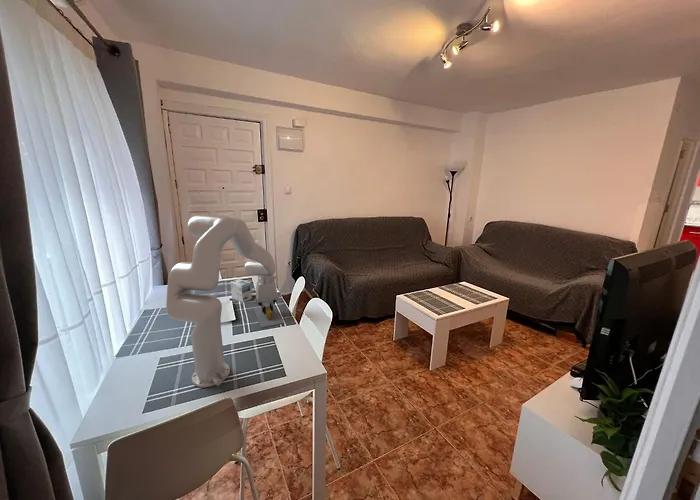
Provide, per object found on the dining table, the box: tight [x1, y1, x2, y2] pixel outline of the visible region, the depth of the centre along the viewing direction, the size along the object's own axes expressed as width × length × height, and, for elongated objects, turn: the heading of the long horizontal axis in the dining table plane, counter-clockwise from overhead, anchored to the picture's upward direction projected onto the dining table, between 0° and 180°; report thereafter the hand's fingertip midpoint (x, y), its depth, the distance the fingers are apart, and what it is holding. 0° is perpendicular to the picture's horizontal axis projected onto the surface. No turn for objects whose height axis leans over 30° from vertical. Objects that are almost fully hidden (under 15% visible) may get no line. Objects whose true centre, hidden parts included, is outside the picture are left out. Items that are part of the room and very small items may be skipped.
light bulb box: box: [230, 278, 253, 303], centre depth 166 cm, size 11×7×11 cm, turn 58°
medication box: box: [264, 301, 273, 319], centre depth 146 cm, size 12×3×4 cm, turn 27°
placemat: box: [253, 304, 284, 329], centre depth 147 cm, size 22×11×1 cm, turn 27°
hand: (267, 312), depth 146 cm, fingers closed on medication box, 2 cm apart
